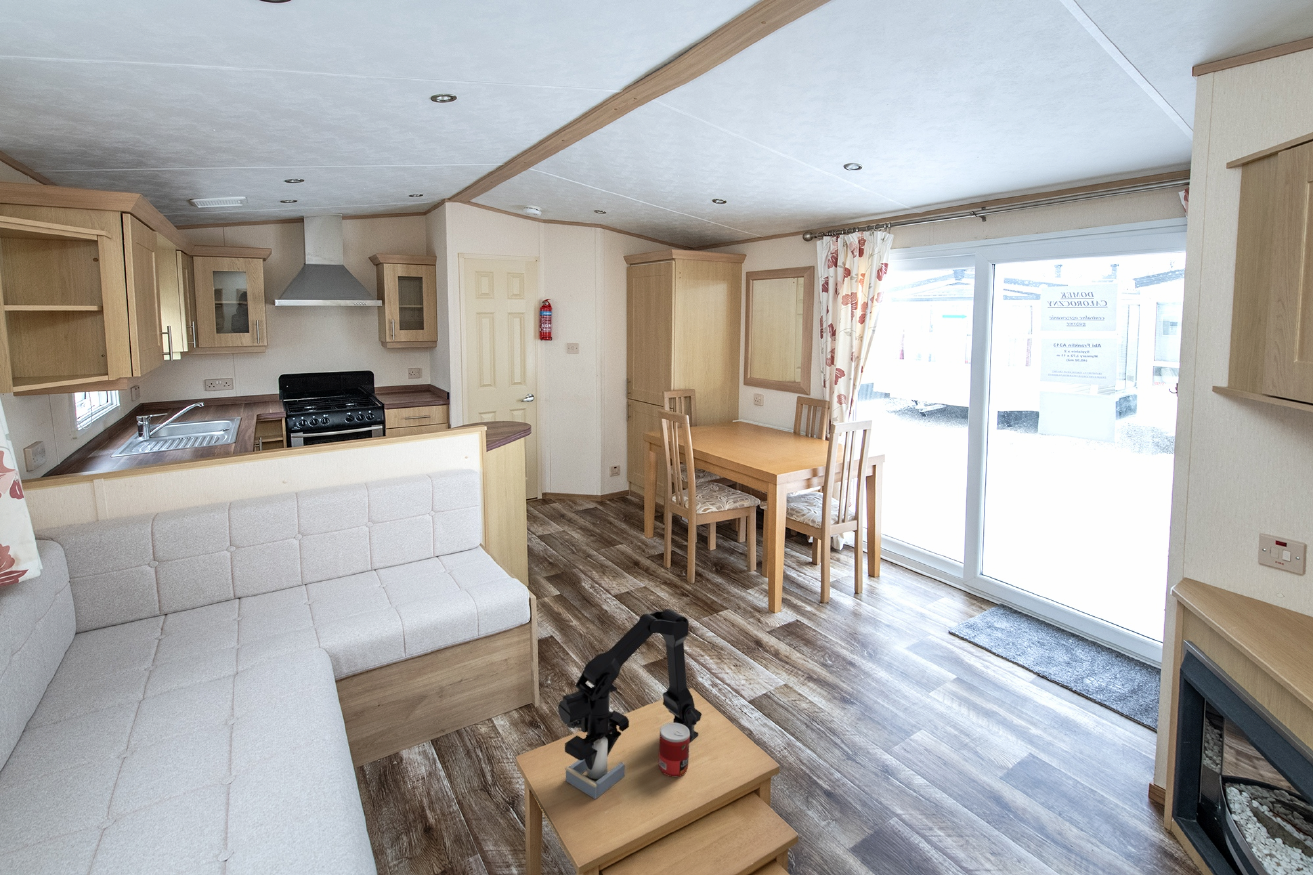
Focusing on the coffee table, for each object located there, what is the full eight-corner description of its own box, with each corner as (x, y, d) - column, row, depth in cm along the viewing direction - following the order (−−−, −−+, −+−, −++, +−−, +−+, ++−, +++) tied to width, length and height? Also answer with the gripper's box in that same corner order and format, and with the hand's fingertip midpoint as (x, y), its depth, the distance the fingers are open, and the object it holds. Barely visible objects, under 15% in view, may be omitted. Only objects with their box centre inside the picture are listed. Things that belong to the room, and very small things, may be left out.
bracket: (595, 759, 184) (595, 745, 183) (624, 776, 178) (624, 762, 177) (564, 781, 175) (565, 767, 174) (594, 799, 169) (594, 785, 168)
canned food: (685, 779, 177) (687, 742, 175) (655, 774, 179) (657, 737, 177) (690, 761, 185) (691, 724, 182) (661, 756, 186) (662, 720, 184)
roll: (596, 762, 180) (597, 731, 179) (611, 771, 177) (611, 739, 175) (582, 772, 176) (583, 741, 174) (597, 781, 173) (598, 749, 171)
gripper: (599, 682, 185) (598, 734, 188) (549, 713, 171) (549, 768, 174) (630, 697, 179) (629, 750, 182) (581, 731, 164) (580, 787, 167)
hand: (597, 763), depth 176 cm, fingers closed on roll, 5 cm apart
